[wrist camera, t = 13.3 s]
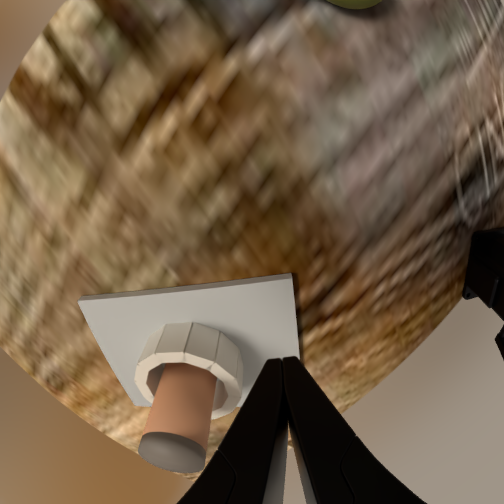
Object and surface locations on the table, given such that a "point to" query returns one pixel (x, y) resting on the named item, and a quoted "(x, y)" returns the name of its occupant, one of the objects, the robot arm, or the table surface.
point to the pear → (355, 3)
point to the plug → (179, 419)
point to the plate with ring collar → (196, 333)
